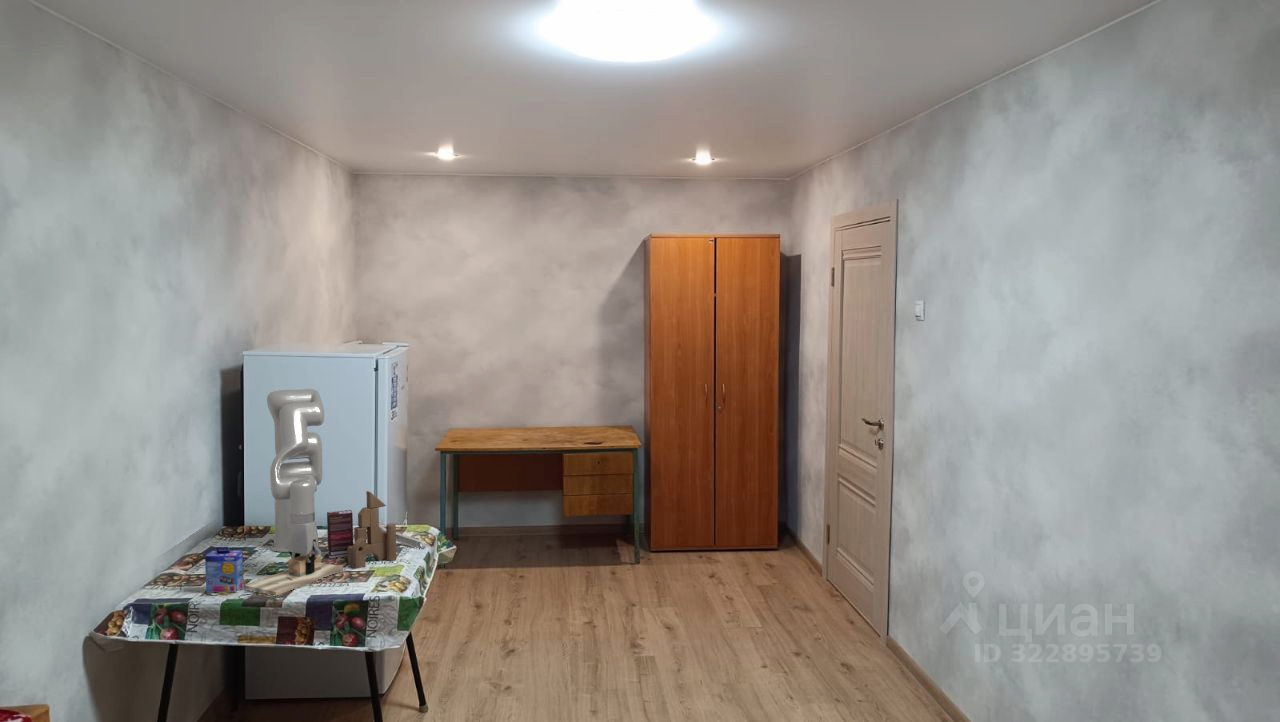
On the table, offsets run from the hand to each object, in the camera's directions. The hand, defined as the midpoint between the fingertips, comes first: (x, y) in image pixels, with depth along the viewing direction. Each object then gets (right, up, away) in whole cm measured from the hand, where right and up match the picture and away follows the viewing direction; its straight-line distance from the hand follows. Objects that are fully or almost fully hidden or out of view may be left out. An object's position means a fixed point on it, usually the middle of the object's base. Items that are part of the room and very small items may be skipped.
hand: (303, 571), depth 287 cm
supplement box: (+4, 0, +24) cm, 24 cm away
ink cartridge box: (-20, -3, -13) cm, 24 cm away
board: (-1, -2, -3) cm, 4 cm away
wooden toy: (+18, -1, +16) cm, 24 cm away
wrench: (+19, 0, +40) cm, 44 cm away
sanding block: (0, 0, +1) cm, 1 cm away
